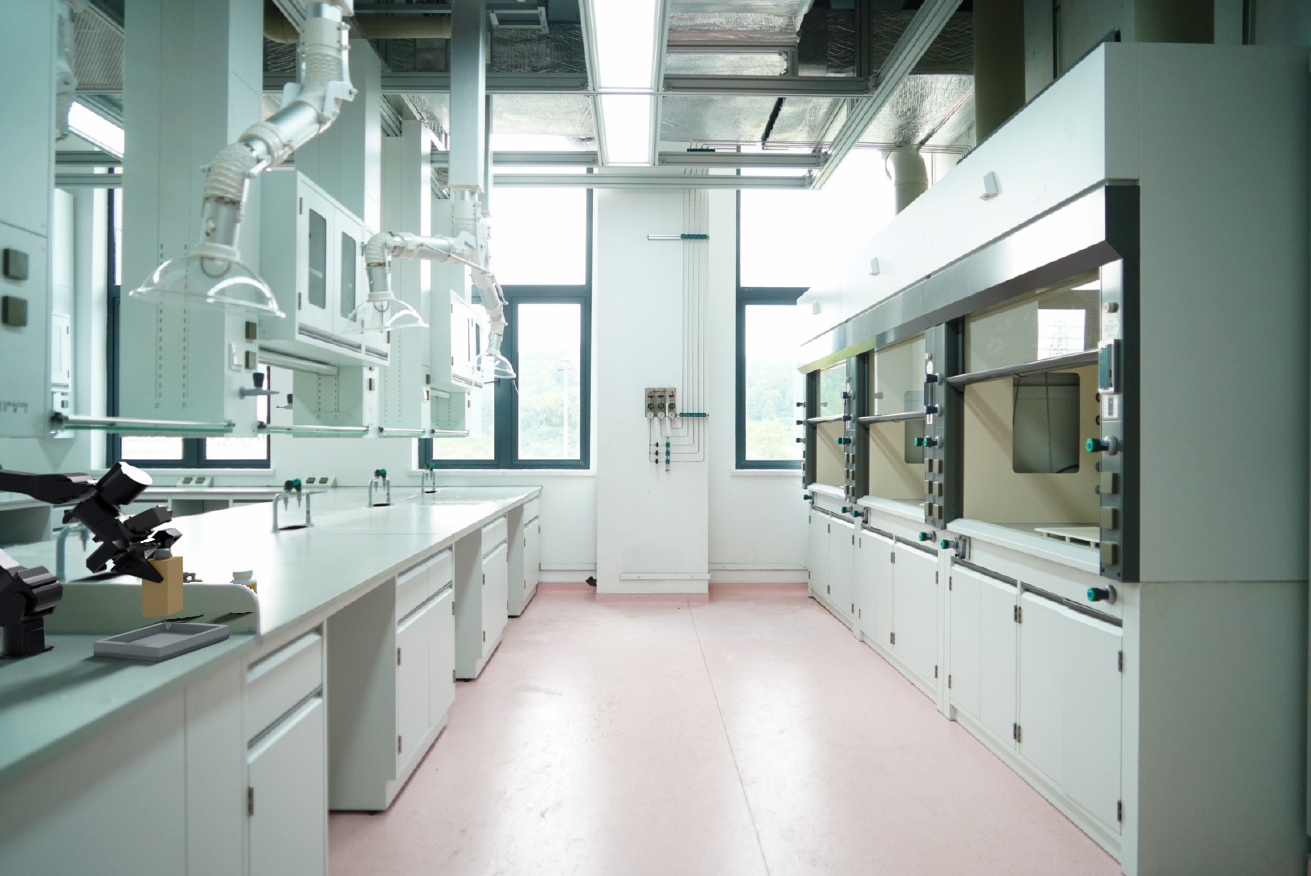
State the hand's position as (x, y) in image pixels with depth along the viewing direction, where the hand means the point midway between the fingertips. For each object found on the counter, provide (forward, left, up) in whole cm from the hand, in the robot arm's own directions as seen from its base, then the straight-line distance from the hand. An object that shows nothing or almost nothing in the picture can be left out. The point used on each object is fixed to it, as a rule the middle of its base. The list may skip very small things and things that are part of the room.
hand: (170, 578), depth 124 cm
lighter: (-17, +17, -13) cm, 27 cm away
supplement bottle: (-8, +24, -13) cm, 28 cm away
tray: (-1, 0, -13) cm, 13 cm away
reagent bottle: (-1, 0, -7) cm, 7 cm away
